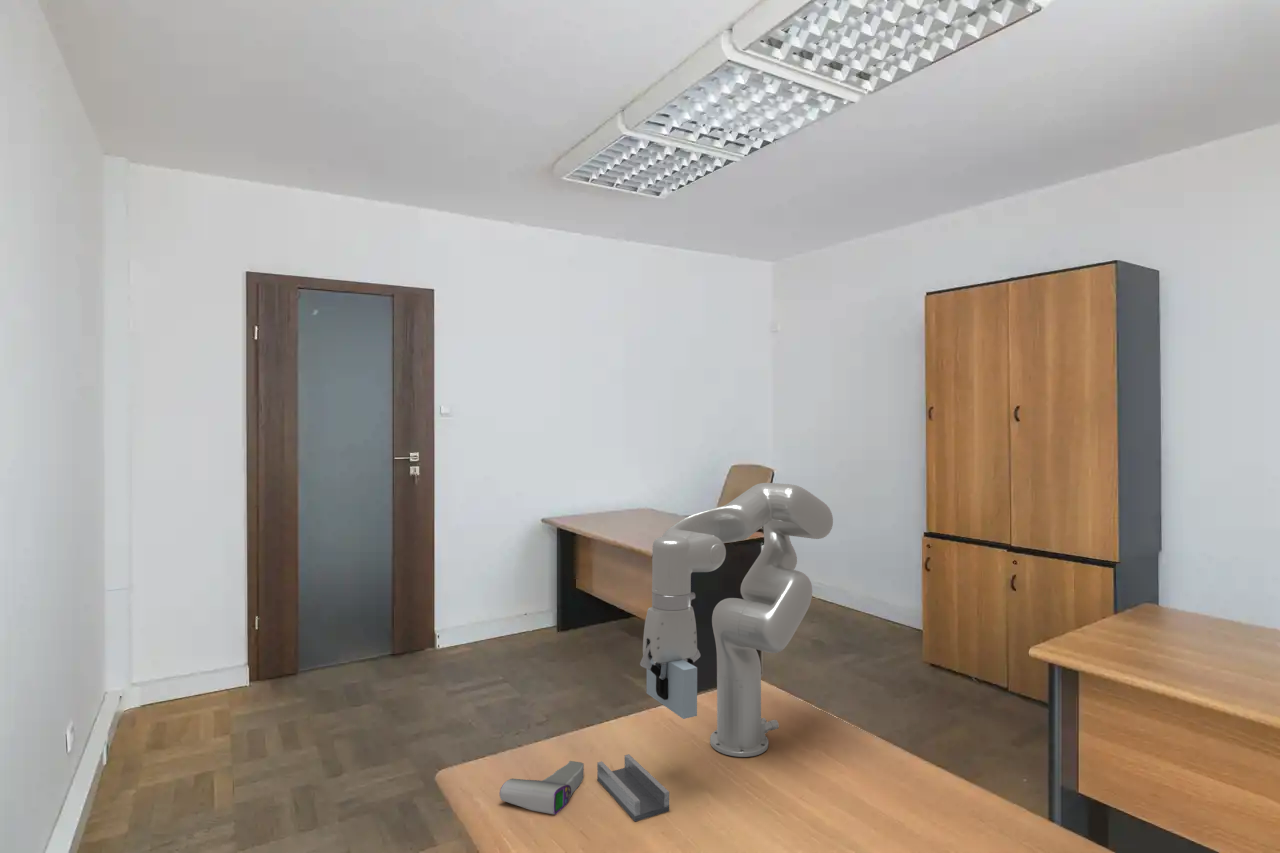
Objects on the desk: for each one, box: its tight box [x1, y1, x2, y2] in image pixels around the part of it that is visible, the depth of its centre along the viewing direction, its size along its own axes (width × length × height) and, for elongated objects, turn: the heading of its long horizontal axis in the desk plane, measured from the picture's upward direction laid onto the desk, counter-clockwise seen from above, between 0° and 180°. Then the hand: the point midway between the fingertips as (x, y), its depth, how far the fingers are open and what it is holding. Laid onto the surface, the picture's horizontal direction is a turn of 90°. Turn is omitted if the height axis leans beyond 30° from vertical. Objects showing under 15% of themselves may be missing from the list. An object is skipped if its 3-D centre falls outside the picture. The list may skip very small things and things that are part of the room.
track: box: [596, 754, 670, 822], centre depth 130 cm, size 16×7×4 cm, turn 28°
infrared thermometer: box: [499, 760, 585, 816], centre depth 131 cm, size 5×12×15 cm
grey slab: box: [646, 659, 698, 720], centre depth 133 cm, size 14×3×9 cm, turn 28°
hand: (670, 694), depth 133 cm, fingers closed on grey slab, 3 cm apart
